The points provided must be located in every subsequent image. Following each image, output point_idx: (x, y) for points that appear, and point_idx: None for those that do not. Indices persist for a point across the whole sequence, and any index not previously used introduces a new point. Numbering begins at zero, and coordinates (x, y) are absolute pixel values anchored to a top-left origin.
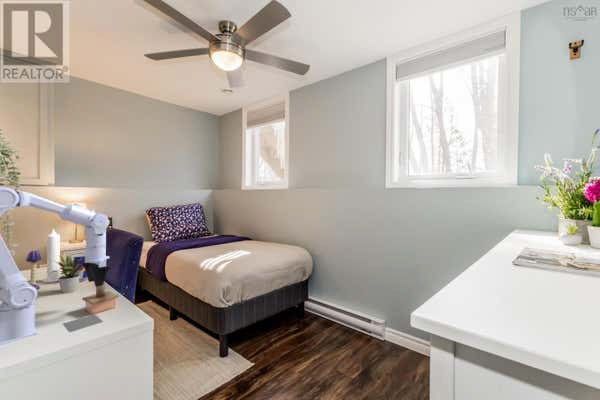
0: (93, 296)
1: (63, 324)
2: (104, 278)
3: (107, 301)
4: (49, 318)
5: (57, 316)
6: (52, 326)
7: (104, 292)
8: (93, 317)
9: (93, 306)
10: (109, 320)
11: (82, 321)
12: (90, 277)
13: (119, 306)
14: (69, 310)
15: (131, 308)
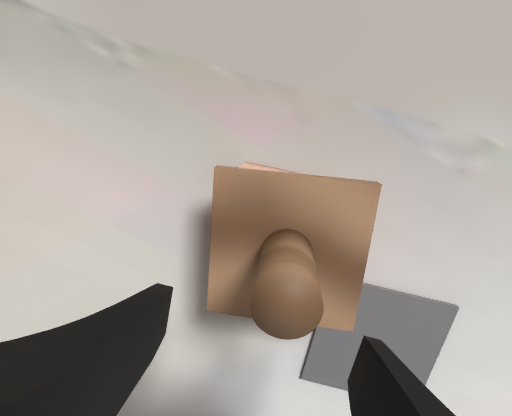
0: (243, 272)
1: (314, 381)
2: (428, 393)
3: None
4: (184, 363)
5: (190, 342)
6: (281, 394)
7: (312, 253)
8: (364, 300)
9: None
10: (463, 281)
11: (361, 341)
12: (146, 354)
13: (341, 154)
14: None
15: (440, 139)
